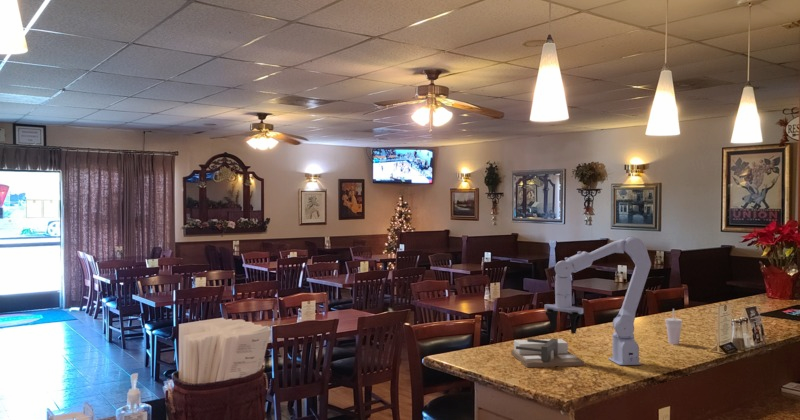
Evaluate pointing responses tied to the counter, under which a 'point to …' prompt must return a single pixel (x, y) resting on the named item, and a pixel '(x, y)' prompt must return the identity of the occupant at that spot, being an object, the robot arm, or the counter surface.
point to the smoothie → (673, 329)
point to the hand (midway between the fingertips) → (563, 331)
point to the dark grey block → (543, 348)
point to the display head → (534, 357)
